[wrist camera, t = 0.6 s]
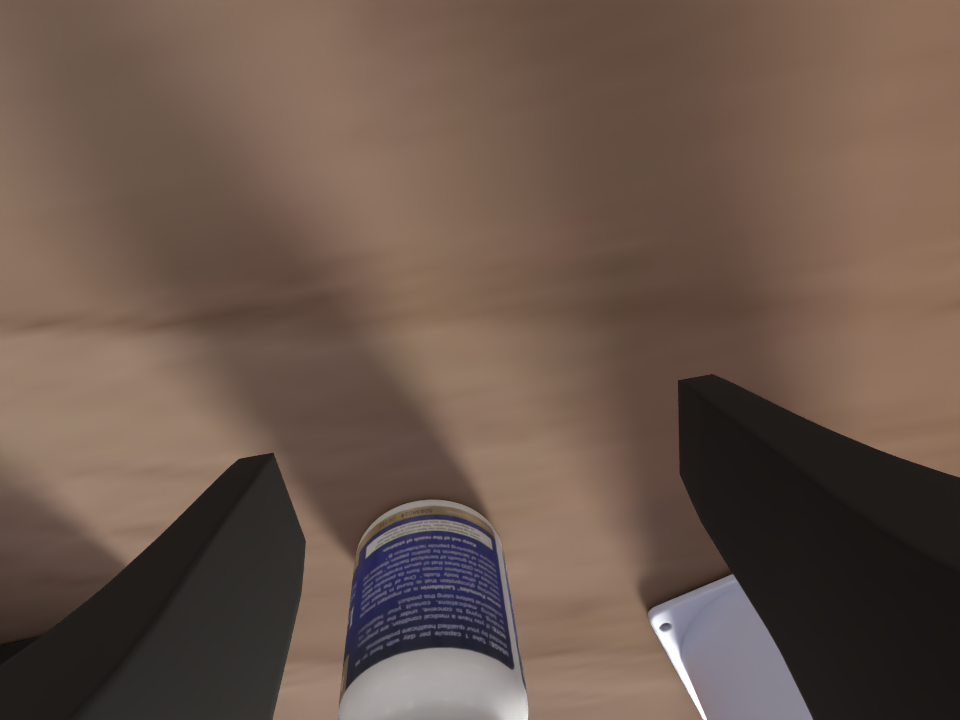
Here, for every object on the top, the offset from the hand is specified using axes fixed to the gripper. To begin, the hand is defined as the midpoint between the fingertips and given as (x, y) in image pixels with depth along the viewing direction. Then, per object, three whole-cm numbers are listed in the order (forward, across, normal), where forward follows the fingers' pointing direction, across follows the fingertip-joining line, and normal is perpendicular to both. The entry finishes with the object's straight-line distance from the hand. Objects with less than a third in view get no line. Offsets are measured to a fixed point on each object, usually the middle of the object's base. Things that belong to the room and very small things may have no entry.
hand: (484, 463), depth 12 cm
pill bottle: (+10, +3, +11) cm, 15 cm away
